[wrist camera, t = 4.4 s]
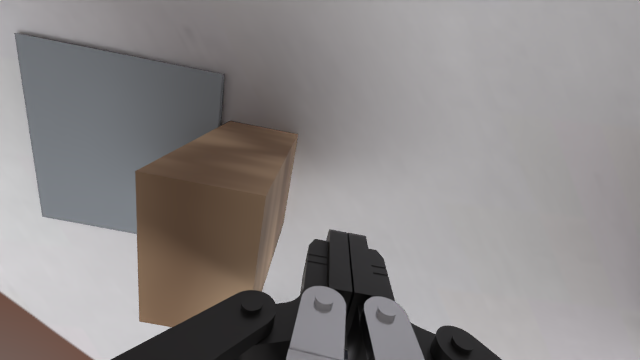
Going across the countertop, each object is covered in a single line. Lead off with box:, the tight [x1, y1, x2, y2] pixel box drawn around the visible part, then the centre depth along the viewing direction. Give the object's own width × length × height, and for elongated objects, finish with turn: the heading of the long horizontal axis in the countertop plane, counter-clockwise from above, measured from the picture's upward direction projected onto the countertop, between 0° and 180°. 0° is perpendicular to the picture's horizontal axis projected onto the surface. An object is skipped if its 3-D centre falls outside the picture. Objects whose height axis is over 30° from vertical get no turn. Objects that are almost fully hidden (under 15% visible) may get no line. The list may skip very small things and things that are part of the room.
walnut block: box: [135, 121, 298, 327], centre depth 15 cm, size 4×6×9 cm, turn 169°
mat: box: [15, 33, 224, 234], centre depth 18 cm, size 11×11×1 cm
